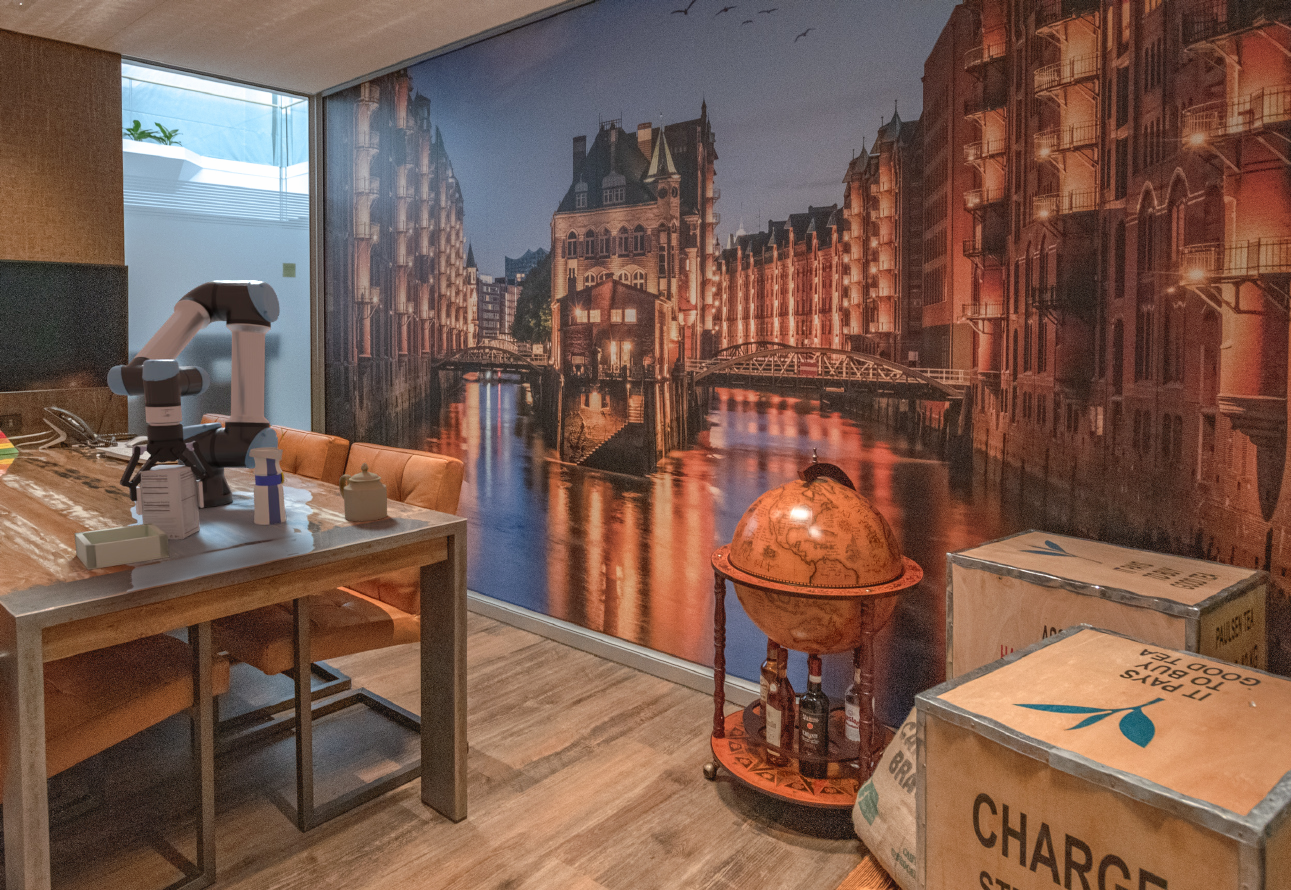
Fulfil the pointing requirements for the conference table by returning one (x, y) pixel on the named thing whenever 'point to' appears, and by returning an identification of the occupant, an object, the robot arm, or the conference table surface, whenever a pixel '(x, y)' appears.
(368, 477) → the sugar bowl
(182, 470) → the supplement box
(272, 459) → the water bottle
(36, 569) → the conference table surface
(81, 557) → the crate
